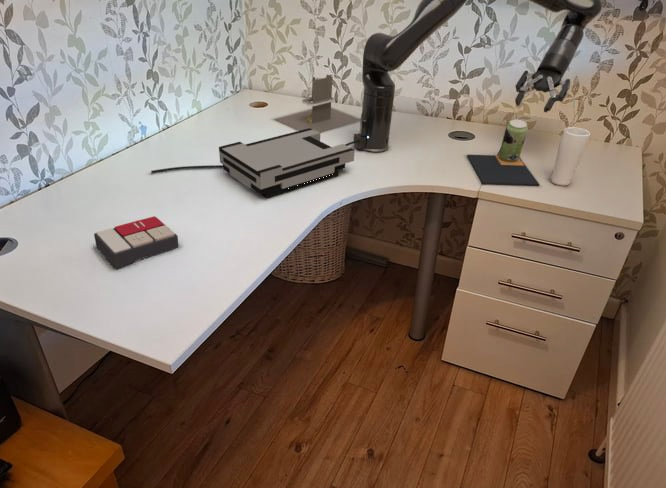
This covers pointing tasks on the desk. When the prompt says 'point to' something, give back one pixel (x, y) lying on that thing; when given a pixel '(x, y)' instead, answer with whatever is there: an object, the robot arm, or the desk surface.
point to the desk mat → (501, 171)
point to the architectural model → (319, 110)
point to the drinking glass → (569, 154)
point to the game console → (284, 162)
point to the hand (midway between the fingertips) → (530, 107)
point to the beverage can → (513, 140)
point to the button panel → (135, 241)
